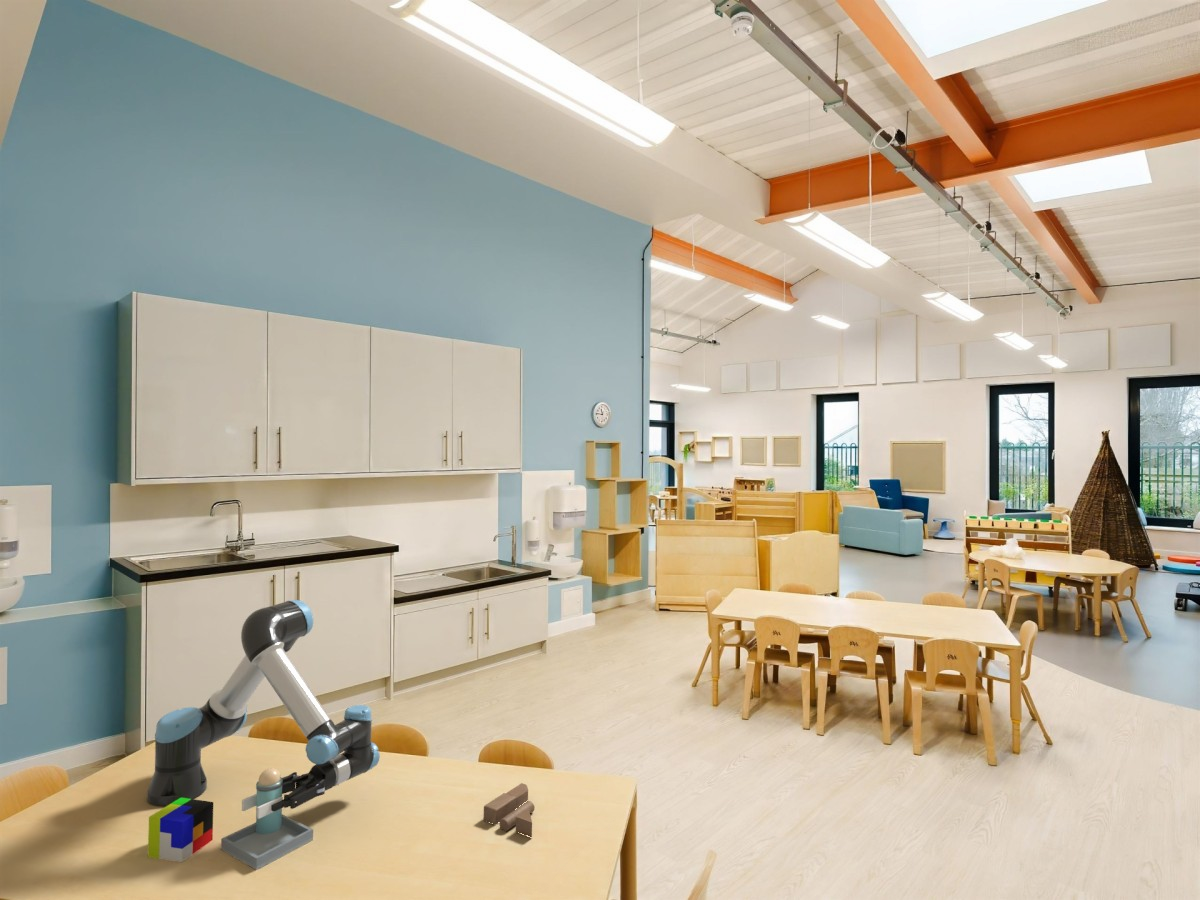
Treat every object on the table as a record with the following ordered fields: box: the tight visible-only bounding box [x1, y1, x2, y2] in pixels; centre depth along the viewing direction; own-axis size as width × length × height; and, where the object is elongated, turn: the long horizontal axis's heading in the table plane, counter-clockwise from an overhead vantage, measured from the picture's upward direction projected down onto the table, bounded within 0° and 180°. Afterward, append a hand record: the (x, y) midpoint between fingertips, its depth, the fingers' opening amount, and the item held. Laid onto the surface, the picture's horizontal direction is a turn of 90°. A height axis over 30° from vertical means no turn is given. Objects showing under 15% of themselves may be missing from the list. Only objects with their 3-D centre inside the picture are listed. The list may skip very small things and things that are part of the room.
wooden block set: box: [483, 782, 535, 838], centre depth 193 cm, size 17×6×18 cm
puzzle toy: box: [147, 798, 214, 863], centre depth 175 cm, size 10×10×10 cm
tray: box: [220, 813, 314, 871], centre depth 177 cm, size 16×16×3 cm
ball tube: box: [255, 767, 283, 834], centre depth 177 cm, size 6×6×15 cm
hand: (250, 809), depth 173 cm, fingers closed on ball tube, 6 cm apart
